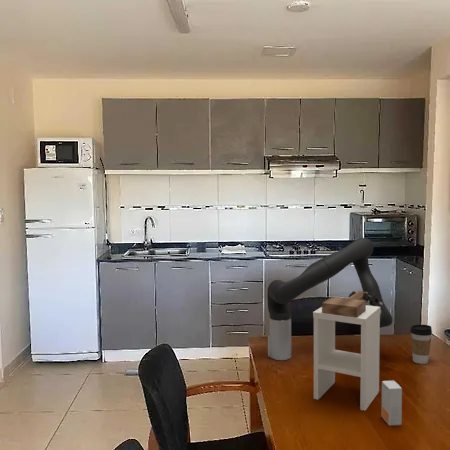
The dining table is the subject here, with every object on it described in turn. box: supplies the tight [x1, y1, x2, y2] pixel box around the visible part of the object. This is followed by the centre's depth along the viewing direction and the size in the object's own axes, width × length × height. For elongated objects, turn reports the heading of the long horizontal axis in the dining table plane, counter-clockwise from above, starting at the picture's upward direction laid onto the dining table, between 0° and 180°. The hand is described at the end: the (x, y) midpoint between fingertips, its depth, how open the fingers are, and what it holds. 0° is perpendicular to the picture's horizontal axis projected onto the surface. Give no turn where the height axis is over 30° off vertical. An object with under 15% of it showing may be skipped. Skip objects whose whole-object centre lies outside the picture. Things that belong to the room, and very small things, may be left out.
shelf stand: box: [312, 305, 381, 412], centre depth 172 cm, size 18×18×31 cm
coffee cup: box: [409, 324, 433, 365], centre depth 203 cm, size 8×8×15 cm
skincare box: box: [381, 380, 403, 426], centre depth 154 cm, size 6×4×12 cm
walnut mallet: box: [321, 290, 368, 318], centre depth 175 cm, size 12×28×4 cm, turn 148°
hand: (358, 294), depth 181 cm, fingers closed on walnut mallet, 3 cm apart
